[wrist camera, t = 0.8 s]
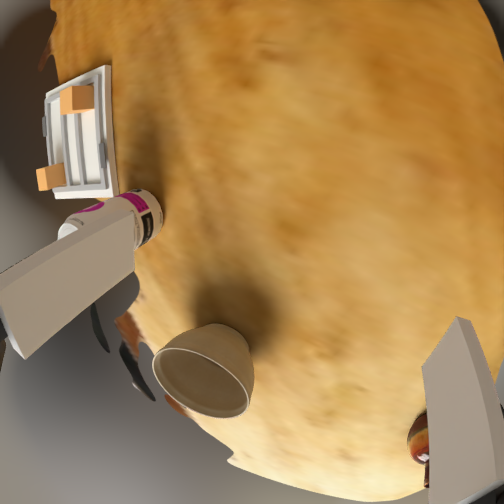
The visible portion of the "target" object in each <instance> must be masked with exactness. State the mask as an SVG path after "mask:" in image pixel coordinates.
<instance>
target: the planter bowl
mask: <svg viewBox="0 0 504 504" xmlns="http://www.w3.org/2000/svg"><path fill="white" fill-rule="evenodd" d="M152 367H153V372H154V374H155V377H156V378H157V380H158V382H159V383H160V385H161V386H162V387H163V389H164V390H165V391H166V392H167V393H168V394H169V395H170V396H171V397H172V398H173V399H175V400H176V401H177V402H179V403H180V404H182V405H183V406H185V407H186V408H188V409H190V410H192V411H194V412H197V413H199V414H201V415H204V416H208V417H212V418H218V419H230V418H235V417H238V416H241V415H242V414H244V413H245V412H246V411H247V409H248V407H249V404H250V398H251V395H252V391H253V386H254V367H253V362H252V359H251V356H250V354H249V346H248V343H247V341H246V340H245V339H244V337H243V336H242V335H241V334H240V333H239V332H237V331H236V330H234V329H233V328H231V327H229V326H226V325H223V324H208V325H206V326H204V327H199V328H194V329H191V330H188V331H186V332H184V333H182V334H180V335H178V336H176V337H175V338H173V339H172V340H171V341H170V342H169V343H167V344H166V345H165V346H164V347H163V348H162V349H160V350H159V351H158V352H157V353H156V355H155V356H154V358H153V362H152Z"/></svg>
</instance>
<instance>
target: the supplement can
mask: <svg viewBox="0 0 504 504" xmlns="http://www.w3.org/2000/svg"><path fill="white" fill-rule="evenodd" d="M119 209H123V210H126V211H130V212H133V213H134V250H135V249H137V248H138V247H140V246H142V245H143V244H145V243H146V242H148V241H149V240H151V239H153V238H154V237H156V236H157V234H158V233H159V232H160V231H161V227H162V224H163V214H162V210H161V207H160V204H159V203H158V201H157V200H156V198H155V197H154V196H153V195H152V194H151V193H150V192H148V191H146V190H143V189H133V190H131V191H128V192H126V193H123V194H120V195H118V196H115V197H113V198H110V199H108V200H105V201H103V202H100V203H98V204H95V205H93V206H91V207H88V208H86V209H84V210H81V211H79V212H77V213H74V214H72V215H71V216H69V217H68V218H67V219H66V221H65V223H64V224H63V225H62V226H61V227H60V230H59V232H58V240H59V239H61V238H63V237H65V236H66V235H68V234H70V233H72V232H74V231H76V230H78V229H80V228H82V227H84V226H86V225H88V224H90V223H92V222H94V221H96V220H98V219H100V218H102V217H104V216H106V215H108V214H110V213H112V212H114V211H117V210H119Z"/></svg>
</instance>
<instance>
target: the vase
mask: <svg viewBox="0 0 504 504" xmlns="http://www.w3.org/2000/svg"><path fill="white" fill-rule="evenodd" d="M407 449H408V452H409V455H410V456H411V458H412V459H413V460H414V461H415V462H417V463H419V464H421V465H425V479H424V487H425V488H429V433H428V418H427V413H426V414H424V415H422V416H421V417H419V418H418V419H417V420H416V421H415V422H414V423H413V425H412V427H411V429H410V431H409V434H408V439H407Z"/></svg>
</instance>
